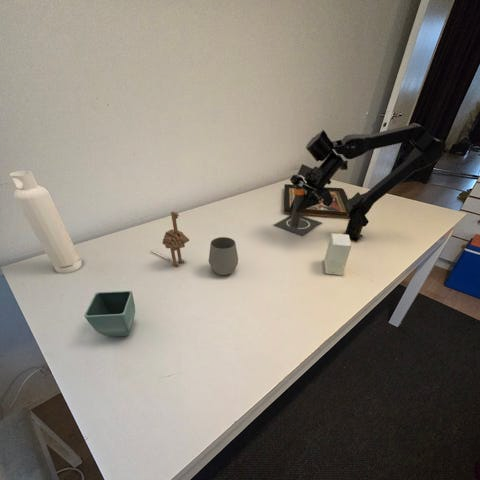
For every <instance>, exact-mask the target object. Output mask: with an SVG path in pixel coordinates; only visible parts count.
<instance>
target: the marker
mask: <svg viewBox="0 0 480 480" xmlns="http://www.w3.org/2000/svg"><path fill="white" fill-rule="evenodd" d="M304 193H305V190H303V189H296V190H295V198H294V205H293V211H292V214H291V215H292V218H291V224H290V228H292V229H297V228H298V226H299V220H300V216H301V215H302V214H301V211H300V212H298V213H297V212H296V209H297V208H298V206H299V205H300V204H301V203H302V201H303V197H304Z"/></svg>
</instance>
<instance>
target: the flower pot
mask: <svg viewBox="0 0 480 480" xmlns="http://www.w3.org/2000/svg"><path fill="white" fill-rule="evenodd" d="M134 299H135V298H134V295H133V291H132V290H119V291H98V292H95V293H94V295H93V297H92V299H91V301H90V303H89V305H88V306H87V309H86V311H85V313H84V315H83V317H84V318H85V320H86V321H87V322H88V323H89V325H90V326H91V327H92V328H93V329H94V330H95V331H96V332H97V333H98V334H101V335H102V336H105V337H107V338H108V337H109V338H112V337H113V338H114V337H128V336H130V334H131V331H132V328H133V327H132V326H133V324H134V320H135V316H136V304H135V300H134Z"/></svg>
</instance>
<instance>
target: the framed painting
mask: <svg viewBox="0 0 480 480" xmlns="http://www.w3.org/2000/svg"><path fill="white" fill-rule="evenodd" d="M283 186H284V188H283V212H284V214H291V215H292V211H293V209H291V208H290V207H291V205H292V202H293V200H294V197H295V190H296V188H295V187H294V185H293V184H292V183H291V184H289V183H284V185H283ZM324 188H326V189H328V190H329V192H330V193H331V195H332V197H333V202H332V204H331V205H330V206H329V207H328V206H326V205H324V204H323V199H321V200H320V201H319V203H320V204H316V205H314V206H311V207H309V208H307V209H305V210H302V211H301V214H300V215H301V216H303V215H304V216H316V217H329V218H331V217H332V218H343V219H349V217H348V215H347V213H346V211H345V207H346V204H347V203H348V202H349V197H348V195H347V193H346V191H345V189H344V188H342V187H330V186H329V187H328V186H324ZM309 189H310V188H309ZM305 194H306V195H307V191H306V193H305Z"/></svg>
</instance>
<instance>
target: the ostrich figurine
mask: <svg viewBox="0 0 480 480" xmlns="http://www.w3.org/2000/svg"><path fill="white" fill-rule="evenodd" d="M170 216H171V221H172V228H171V229H170V230H168V231H167V230H166V231H165V234H164V235H163V239H162V245H164V247H165V249H170V254H171V255H170V256H171V259H172V265H173V266H175V267H177V268H178V267H179V263H180V264H185V261H184V260H183V258H182V252H181V249H183V248H185V247H186V245H185V244H186V243H189V242H190V238H189V237H188V236H186V235H185V234H184V232H183V231H181V230H179V229H178V225H177V223H178V222H177V219H178V218H179V217H180V214H179V213H178V212H176V211H170ZM151 252H152V253H155V254H157V255H158V256H160V257H162V258H164V259H166V260H168V261H169V260H170V259H169V256H168V257H167V256H166V255H164V254H161V253H160V252H157V251H156V250H151ZM175 252H176V253H175ZM176 255H177V257H176ZM177 259H178V262H177Z"/></svg>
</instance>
